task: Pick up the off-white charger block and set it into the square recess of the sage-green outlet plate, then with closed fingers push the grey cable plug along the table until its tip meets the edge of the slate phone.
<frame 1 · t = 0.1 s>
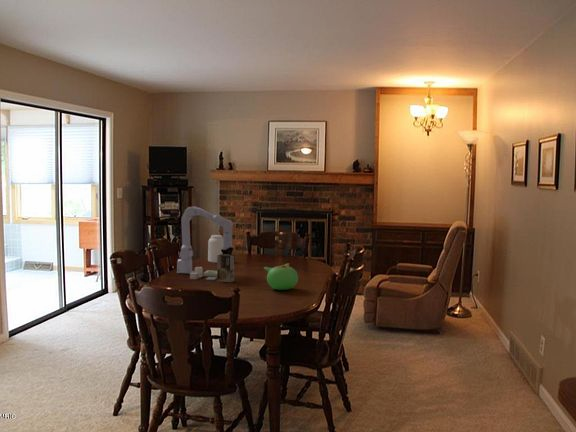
hand: (227, 259, 330), 10 cm above the table, fingers open, 7 cm apart
green rounded lump: (281, 289, 290), on the table
outlet plate: (214, 275, 328), on the table
charger: (198, 276, 321), on the table
coffee box: (225, 281, 310), on the table
can: (216, 261, 382), on the table
phone: (211, 280, 314), on the table
cable plug: (194, 278, 316), on the table
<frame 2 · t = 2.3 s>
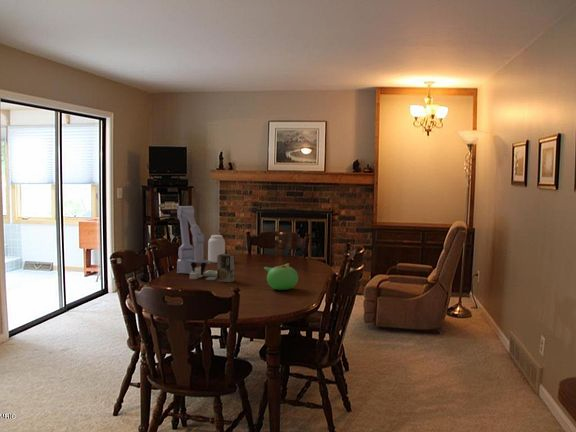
hand: (198, 274, 321), 1 cm above the table, fingers closed on charger, 4 cm apart
charger: (198, 276, 321), on the table, touching gripper
everything else where it was.
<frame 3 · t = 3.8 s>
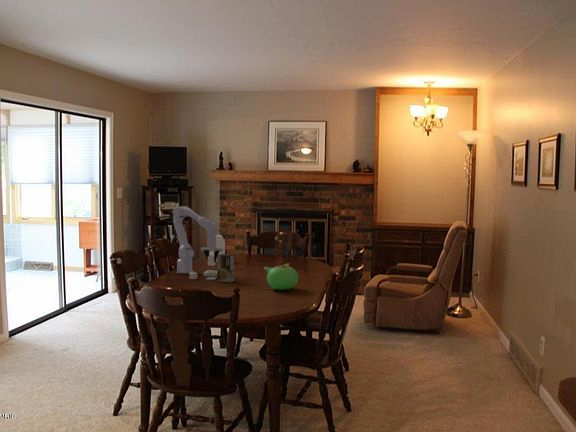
hand: (211, 262, 327), 8 cm above the table, fingers closed on charger, 4 cm apart
charger: (211, 264, 327), point 7 cm above the table, touching gripper
everything else where it was.
when the fingers open (4 cm above the table, at t = 5.1 s): charger drops 1 cm, resting on outlet plate.
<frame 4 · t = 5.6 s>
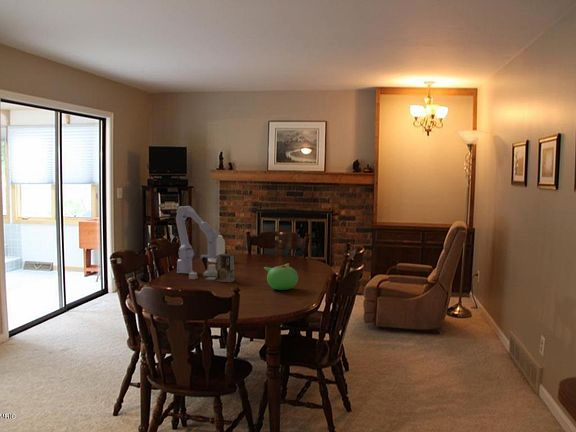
hand: (211, 269, 328), 4 cm above the table, fingers open, 7 cm apart
charger: (211, 274, 328), point 1 cm above the table, touching outlet plate
everything else where it was.
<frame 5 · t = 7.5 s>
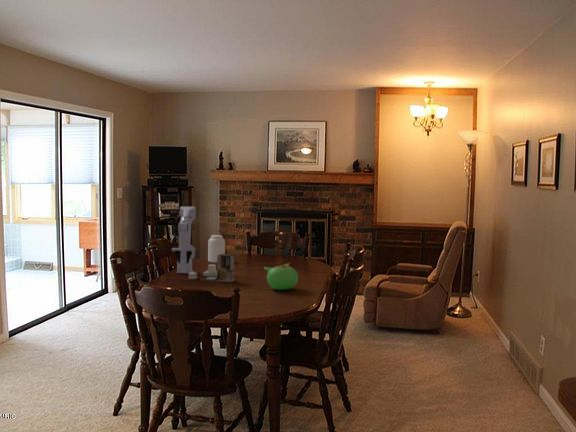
hand: (183, 263, 316), 9 cm above the table, fingers open, 5 cm apart
nothing on the table moved.
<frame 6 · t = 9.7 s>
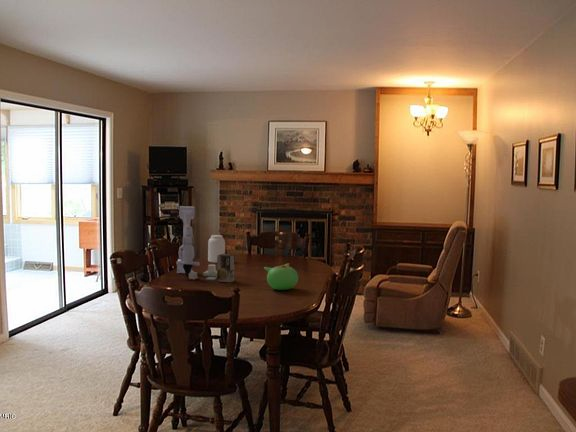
hand: (187, 276, 316), 1 cm above the table, fingers closed
cable plug: (192, 278, 316), on the table, touching gripper
everything else where it was.
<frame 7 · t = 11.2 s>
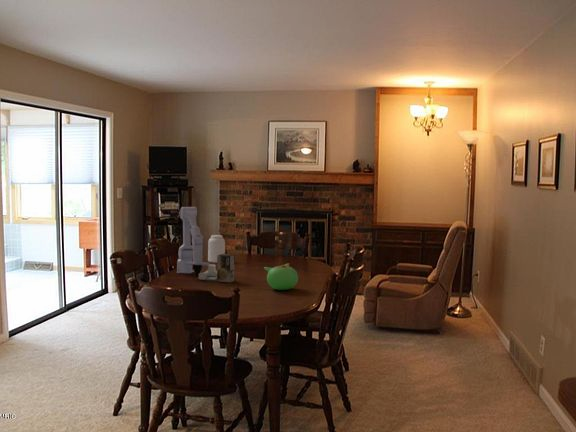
hand: (197, 277, 315), 1 cm above the table, fingers closed
cable plug: (202, 278, 315), on the table, touching gripper
everything else where it was.
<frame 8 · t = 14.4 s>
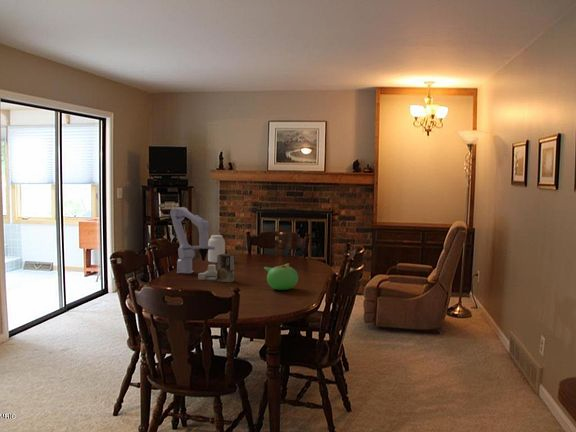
hand: (203, 260, 324), 10 cm above the table, fingers closed
cable plug: (202, 279, 315), on the table
everything else where it was.
at the end: charger 0.2 cm from the target spot, point 0.6 cm above the table; charger tilted 0°; cable plug 0.2 cm from the target spot on the table beside the phone, on the table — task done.
